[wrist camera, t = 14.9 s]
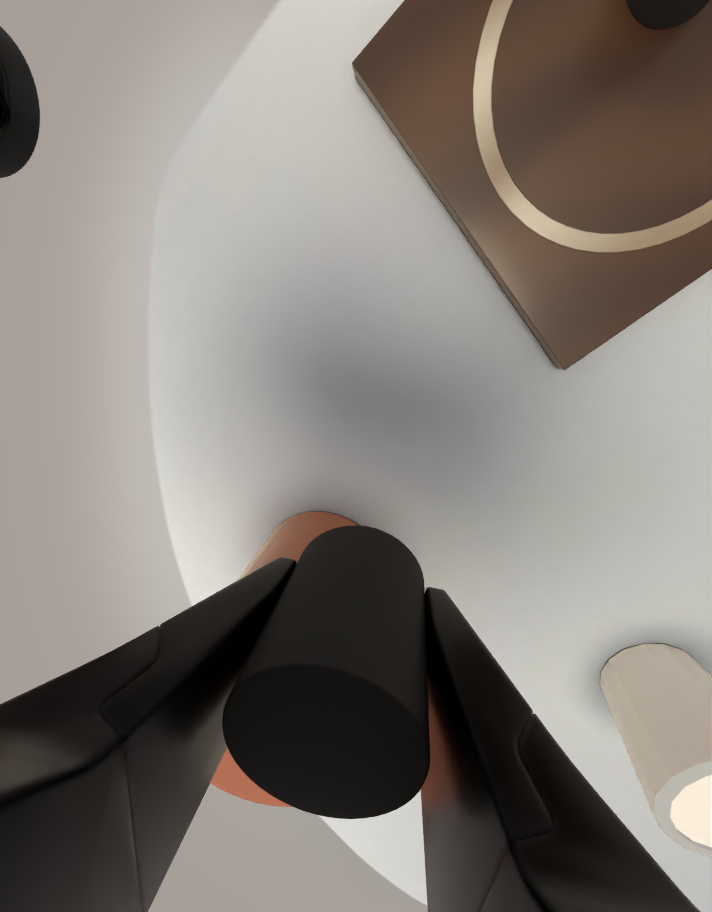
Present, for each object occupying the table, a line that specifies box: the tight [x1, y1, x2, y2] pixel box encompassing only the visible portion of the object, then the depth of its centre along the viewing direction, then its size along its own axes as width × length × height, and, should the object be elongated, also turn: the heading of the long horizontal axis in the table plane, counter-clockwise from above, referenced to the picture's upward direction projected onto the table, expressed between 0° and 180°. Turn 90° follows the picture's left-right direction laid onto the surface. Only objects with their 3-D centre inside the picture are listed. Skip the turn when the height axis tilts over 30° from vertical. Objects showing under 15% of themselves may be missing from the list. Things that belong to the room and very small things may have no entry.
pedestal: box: [210, 512, 357, 807], centre depth 19 cm, size 8×8×11 cm
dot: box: [222, 525, 430, 819], centre depth 7 cm, size 3×3×4 cm
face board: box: [352, 0, 712, 370], centre depth 14 cm, size 16×16×1 cm
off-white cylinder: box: [600, 644, 712, 857], centre depth 20 cm, size 7×7×7 cm
